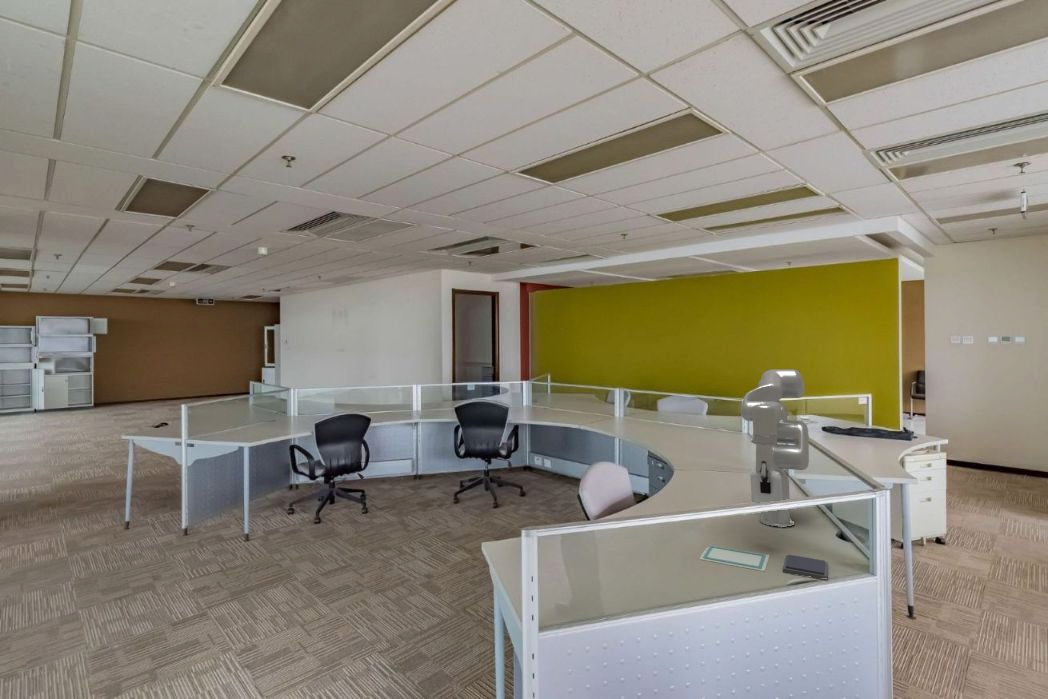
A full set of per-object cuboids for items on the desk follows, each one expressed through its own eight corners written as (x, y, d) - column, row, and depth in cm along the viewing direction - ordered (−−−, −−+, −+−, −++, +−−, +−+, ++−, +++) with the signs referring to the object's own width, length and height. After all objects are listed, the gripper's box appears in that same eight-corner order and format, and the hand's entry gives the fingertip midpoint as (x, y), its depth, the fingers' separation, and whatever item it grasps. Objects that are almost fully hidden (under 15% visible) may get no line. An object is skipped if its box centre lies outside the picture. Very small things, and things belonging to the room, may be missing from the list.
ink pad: (786, 558, 169) (785, 553, 169) (827, 565, 162) (827, 560, 162) (782, 572, 158) (782, 566, 158) (827, 580, 152) (827, 574, 152)
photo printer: (749, 502, 180) (748, 468, 180) (754, 499, 183) (753, 465, 183) (780, 508, 172) (778, 472, 172) (784, 505, 175) (783, 469, 175)
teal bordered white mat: (708, 545, 182) (708, 543, 182) (769, 555, 171) (769, 554, 171) (699, 559, 170) (699, 557, 170) (764, 571, 159) (764, 569, 159)
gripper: (756, 434, 186) (758, 483, 187) (749, 443, 172) (751, 496, 172) (779, 436, 182) (780, 486, 183) (774, 444, 168) (776, 499, 168)
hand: (766, 490), depth 177 cm, fingers closed on photo printer, 5 cm apart
